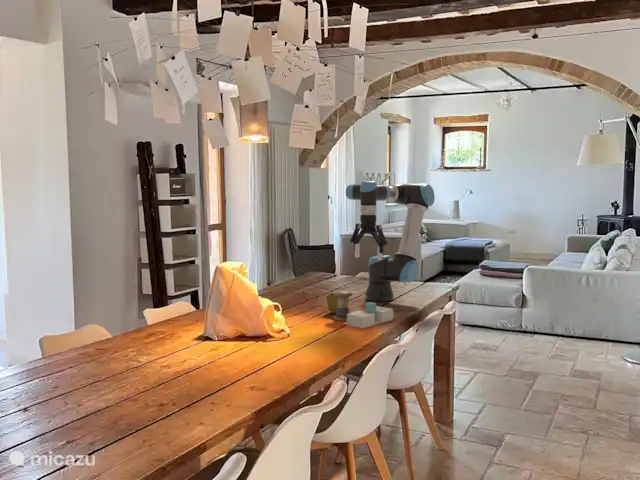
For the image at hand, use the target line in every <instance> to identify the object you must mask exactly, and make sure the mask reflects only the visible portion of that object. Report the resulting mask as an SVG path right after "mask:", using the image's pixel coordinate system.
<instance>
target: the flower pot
mask: <svg viewBox="0 0 640 480" xmlns="http://www.w3.org/2000/svg"><path fill="white" fill-rule="evenodd" d="M349 301H350V297H347V306H349V305H350V304H349V303H350V302H349ZM326 304H327V306H328V307H327V308H328V309H329V311H330V312H331V314H336V306H338V297H336V296H333V292H331V293H328V294H326Z"/></svg>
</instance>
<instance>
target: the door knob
mask: <svg viewBox="0 0 640 480" xmlns="http://www.w3.org/2000/svg"><path fill="white" fill-rule="evenodd" d="M332 293H333V296H336V297H338V306H336V313H335V315H333V316H332V319H333V320H334V321H340V322H347V314H349V313H350V306H349V305H348V306H347V297H349V298H350V297H353V292H352V291H346V290H338V291H334V292H332Z"/></svg>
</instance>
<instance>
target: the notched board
mask: <svg viewBox="0 0 640 480" xmlns="http://www.w3.org/2000/svg"><path fill="white" fill-rule="evenodd" d="M393 320H394V309H393V308H390V307H383V306H379V305H376V321H375V314H372V313H367V312H365V311H361V310H356V311H353V312H349V314H347V321H346V326H350V327H353V328H354V327H355V328H358V329H366V328H370V327H372V326H376V325H379V324H383V323H387V322H389V321H390V322H391V321H393Z"/></svg>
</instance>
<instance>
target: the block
mask: <svg viewBox="0 0 640 480" xmlns="http://www.w3.org/2000/svg"><path fill="white" fill-rule="evenodd" d="M376 306H377V303H376V302H374V301H369V302H365V304H364V312H367V313H372V314H375V321H376Z"/></svg>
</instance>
